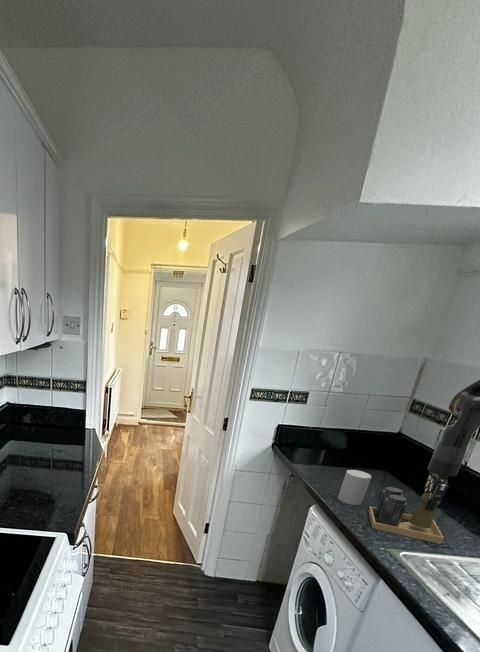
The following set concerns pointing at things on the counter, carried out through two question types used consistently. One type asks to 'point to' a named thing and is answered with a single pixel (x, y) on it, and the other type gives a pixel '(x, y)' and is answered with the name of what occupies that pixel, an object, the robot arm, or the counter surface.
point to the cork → (423, 513)
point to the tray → (409, 528)
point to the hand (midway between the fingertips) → (427, 507)
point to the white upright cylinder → (354, 487)
